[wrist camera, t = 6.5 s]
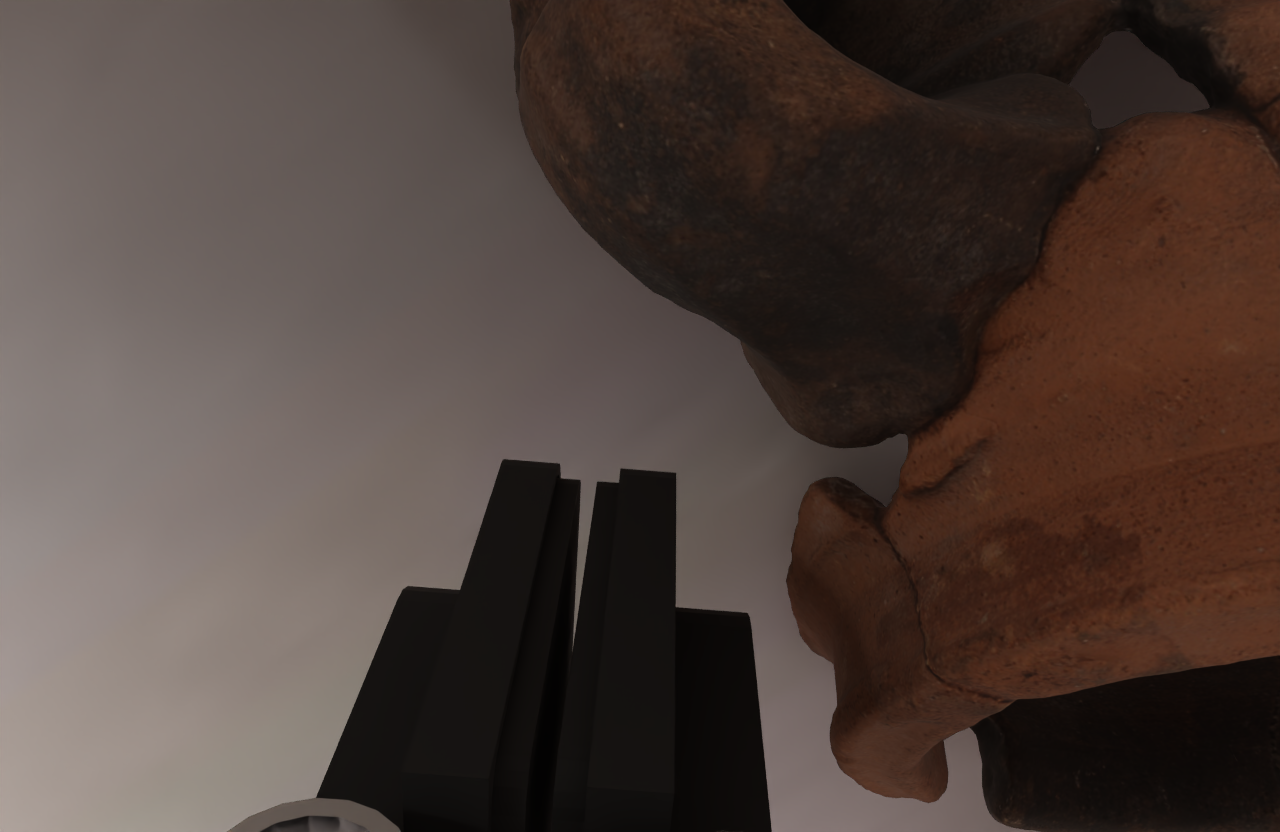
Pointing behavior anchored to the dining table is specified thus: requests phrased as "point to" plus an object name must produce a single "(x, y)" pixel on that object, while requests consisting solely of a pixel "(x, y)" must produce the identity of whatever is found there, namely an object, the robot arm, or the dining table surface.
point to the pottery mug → (980, 362)
